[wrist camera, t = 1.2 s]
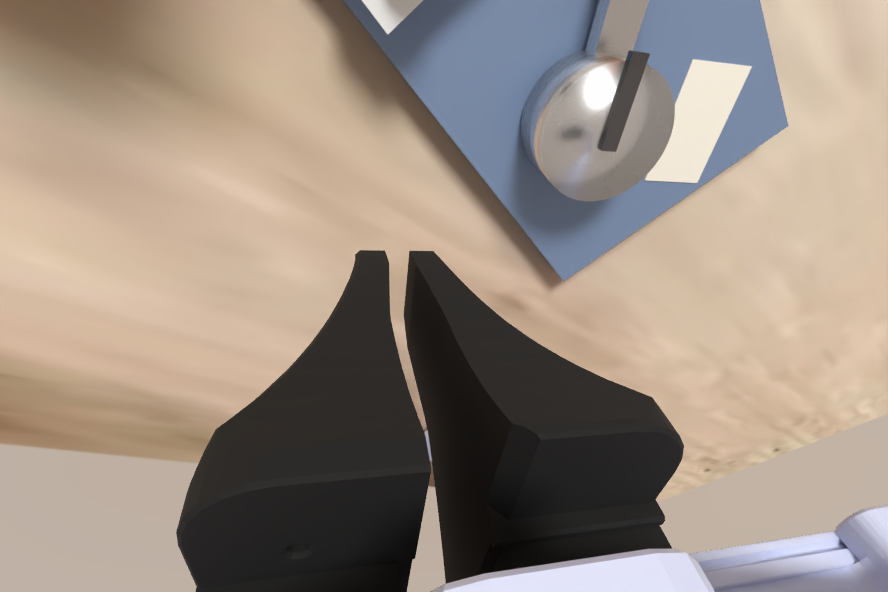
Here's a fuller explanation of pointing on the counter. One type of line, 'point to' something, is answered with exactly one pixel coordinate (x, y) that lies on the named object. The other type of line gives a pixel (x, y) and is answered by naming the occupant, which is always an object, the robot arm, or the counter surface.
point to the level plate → (539, 47)
